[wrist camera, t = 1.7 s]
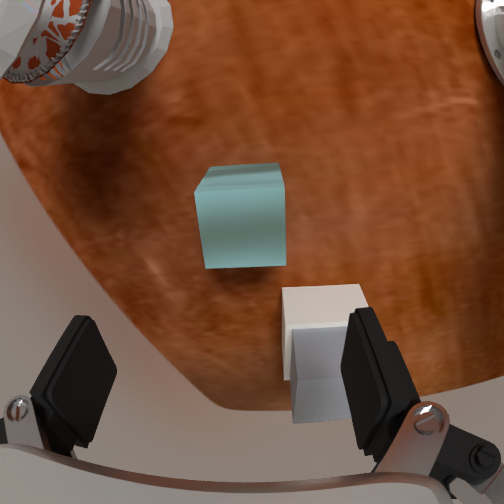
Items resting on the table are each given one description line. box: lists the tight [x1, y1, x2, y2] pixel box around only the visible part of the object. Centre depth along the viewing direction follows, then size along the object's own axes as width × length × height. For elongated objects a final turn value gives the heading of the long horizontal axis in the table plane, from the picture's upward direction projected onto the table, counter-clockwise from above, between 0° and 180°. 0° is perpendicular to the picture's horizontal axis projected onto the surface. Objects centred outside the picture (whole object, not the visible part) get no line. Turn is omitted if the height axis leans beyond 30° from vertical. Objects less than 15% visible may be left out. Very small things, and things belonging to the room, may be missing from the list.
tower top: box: [290, 326, 351, 424], centre depth 22 cm, size 6×6×5 cm
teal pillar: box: [194, 163, 286, 269], centre depth 21 cm, size 5×5×6 cm
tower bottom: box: [282, 284, 369, 380], centre depth 27 cm, size 7×7×5 cm
